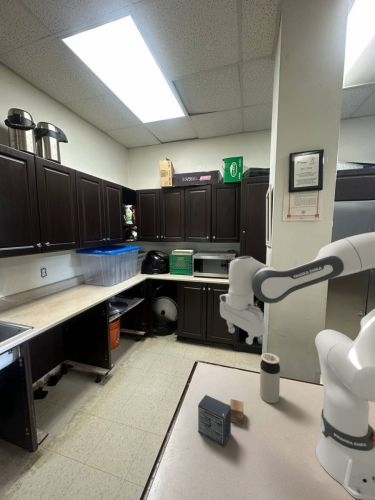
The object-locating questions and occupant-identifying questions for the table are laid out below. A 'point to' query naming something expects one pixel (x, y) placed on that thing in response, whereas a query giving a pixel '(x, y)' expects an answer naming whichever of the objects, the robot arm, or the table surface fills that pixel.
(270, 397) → the travel mug
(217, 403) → the small box
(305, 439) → the table surface
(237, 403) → the tan cube
